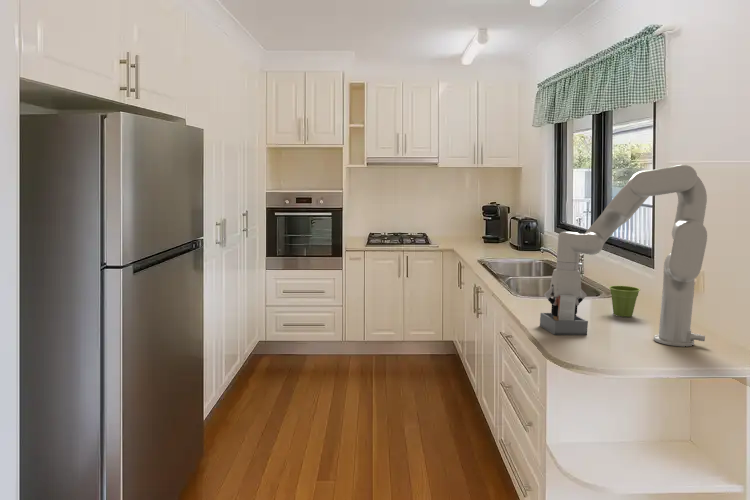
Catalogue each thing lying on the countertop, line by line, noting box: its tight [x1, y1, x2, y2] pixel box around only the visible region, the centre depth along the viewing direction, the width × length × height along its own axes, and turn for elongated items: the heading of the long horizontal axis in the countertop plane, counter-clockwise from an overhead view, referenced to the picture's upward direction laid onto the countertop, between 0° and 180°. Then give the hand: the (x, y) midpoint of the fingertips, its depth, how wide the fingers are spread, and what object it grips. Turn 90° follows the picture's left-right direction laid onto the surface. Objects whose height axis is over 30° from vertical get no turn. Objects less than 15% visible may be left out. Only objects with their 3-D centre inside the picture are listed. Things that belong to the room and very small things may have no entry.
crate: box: [539, 312, 589, 336], centre depth 223 cm, size 12×13×5 cm
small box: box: [553, 295, 576, 321], centre depth 223 cm, size 8×6×10 cm
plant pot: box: [608, 285, 641, 318], centre depth 252 cm, size 12×12×11 cm
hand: (563, 315), depth 223 cm, fingers closed on small box, 6 cm apart
